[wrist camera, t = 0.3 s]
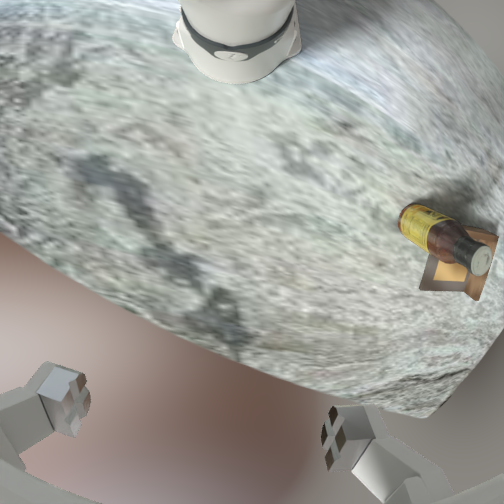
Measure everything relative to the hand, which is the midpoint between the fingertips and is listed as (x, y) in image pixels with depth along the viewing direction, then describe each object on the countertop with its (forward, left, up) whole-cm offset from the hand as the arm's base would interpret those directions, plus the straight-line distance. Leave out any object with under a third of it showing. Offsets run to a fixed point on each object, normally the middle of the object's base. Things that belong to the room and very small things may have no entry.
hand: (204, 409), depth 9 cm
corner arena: (+6, +44, -39) cm, 59 cm away
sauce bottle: (0, +31, -39) cm, 50 cm away
